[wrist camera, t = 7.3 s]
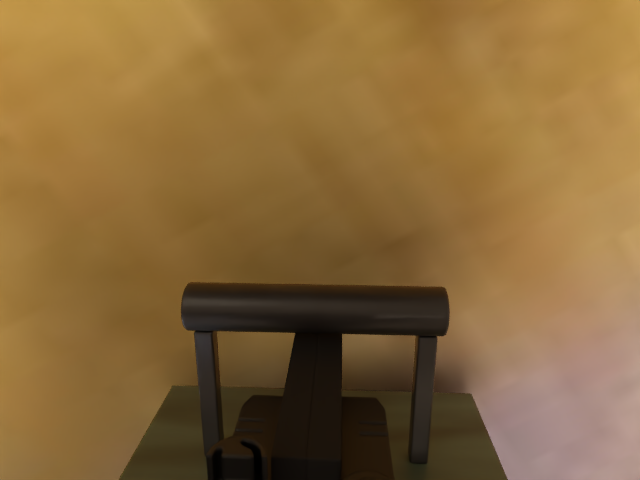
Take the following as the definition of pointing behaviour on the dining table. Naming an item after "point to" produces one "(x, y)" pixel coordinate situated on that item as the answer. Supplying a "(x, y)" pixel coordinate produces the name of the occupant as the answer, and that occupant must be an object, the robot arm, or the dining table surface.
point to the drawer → (401, 407)
